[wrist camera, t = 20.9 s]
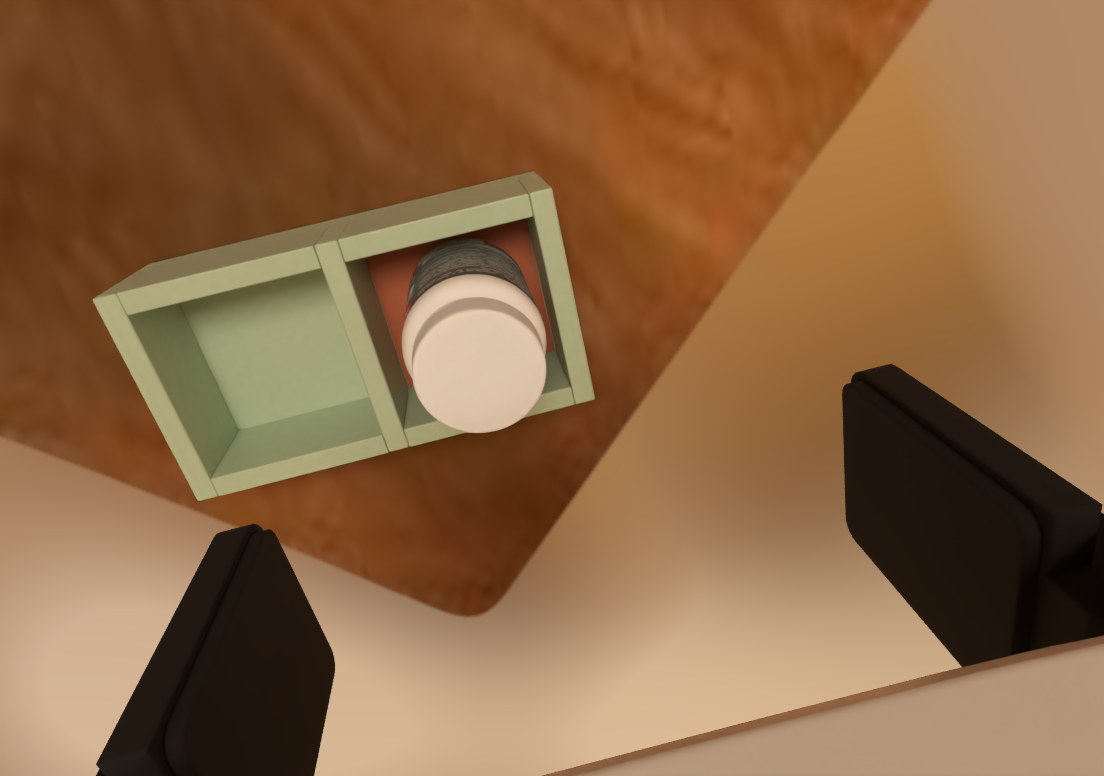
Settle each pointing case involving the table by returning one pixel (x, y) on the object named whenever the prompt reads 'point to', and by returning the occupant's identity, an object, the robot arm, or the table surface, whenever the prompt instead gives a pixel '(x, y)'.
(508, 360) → the pill bottle
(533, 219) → the rack
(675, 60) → the table surface
